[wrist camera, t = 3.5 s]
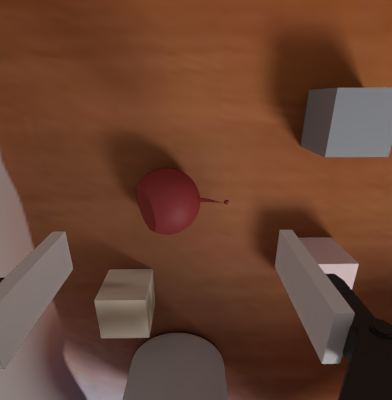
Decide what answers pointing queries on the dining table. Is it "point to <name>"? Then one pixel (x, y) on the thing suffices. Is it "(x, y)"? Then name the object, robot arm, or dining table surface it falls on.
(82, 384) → the dining table surface
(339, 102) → the slate grey block
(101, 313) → the birch block
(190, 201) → the fruit
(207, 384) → the cylinder vase
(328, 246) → the dusty rose block
